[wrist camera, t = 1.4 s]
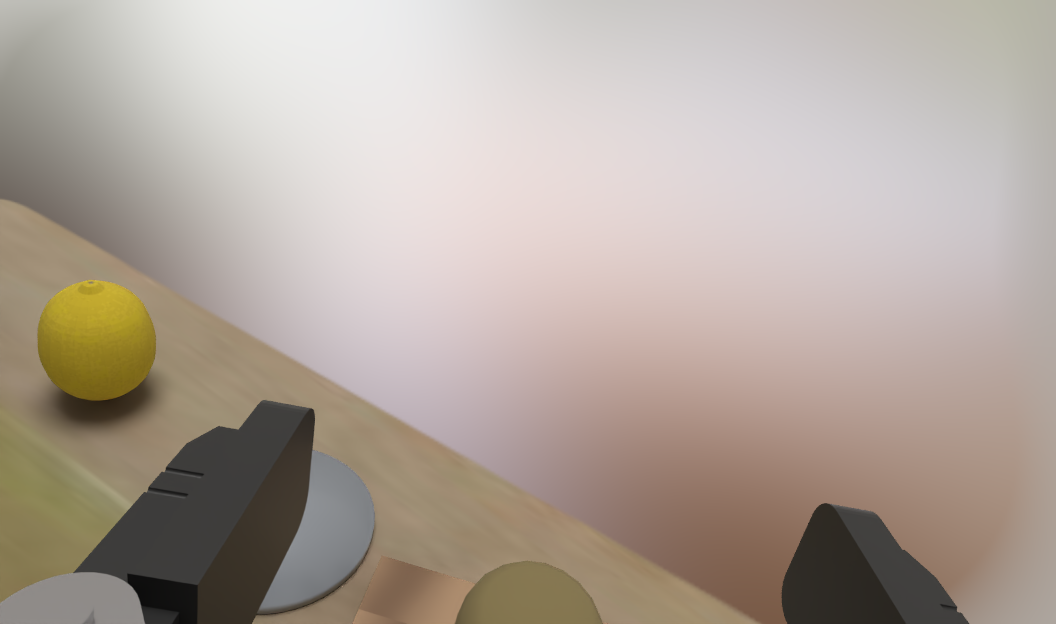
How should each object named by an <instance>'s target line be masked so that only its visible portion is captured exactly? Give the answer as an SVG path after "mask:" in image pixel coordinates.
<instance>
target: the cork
mask: <svg viewBox="0 0 1056 624" xmlns="http://www.w3.org/2000/svg"><path fill="white" fill-rule="evenodd" d="M455 624H603V622H602V620H601V618H600V615H599V613H598V611H597V608H596V606H595V604H594V602H593V600H592V598H591V597H590V595H589V594H588V593H587V592H586V590H585V589H584V588H583V587H582V585H581V584H580V583H579V582H578V581H576V580H575V579H574V578H572V577H571V576H570V575H568V574H567V573H566V572H564V571H563V570H560V569H558V568H556V567H553V566H551V565H548V564H546V563H539V562H532V561H523V562H516V563H510V564H506V565H502V566H501V567H499V568H497V569H495V570H493V571H491V572H489V573H487V574H485V575H484V576H483V577H482V578H481V579H480V580H479V581H478V582H477V583H476V585H475V586H474V587H473V588H472V589H471V590H470V591H469V592H468V594H467V595H466V596H465V599H464V601H463V603H462V605H461V608H460V610H459V612H458V615H457V618H456V621H455Z"/></svg>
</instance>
